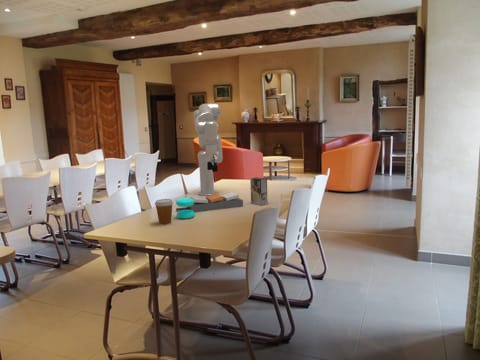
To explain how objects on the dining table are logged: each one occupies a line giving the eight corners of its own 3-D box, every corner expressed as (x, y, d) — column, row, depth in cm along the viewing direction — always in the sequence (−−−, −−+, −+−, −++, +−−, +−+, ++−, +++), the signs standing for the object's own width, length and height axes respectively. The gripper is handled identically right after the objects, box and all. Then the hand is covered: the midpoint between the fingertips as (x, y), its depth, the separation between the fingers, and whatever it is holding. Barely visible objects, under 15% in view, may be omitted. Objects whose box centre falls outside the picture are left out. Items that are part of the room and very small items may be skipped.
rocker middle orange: (206, 199, 248) (205, 196, 248) (218, 196, 251) (217, 193, 250) (211, 202, 238) (210, 199, 238) (223, 199, 241) (222, 196, 241)
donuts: (181, 197, 228) (197, 198, 225) (182, 214, 230) (197, 215, 226) (172, 200, 219) (188, 201, 216) (173, 218, 221) (189, 219, 217)
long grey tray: (174, 209, 243) (173, 202, 242) (235, 202, 257) (235, 195, 256) (178, 214, 231) (178, 206, 230) (243, 206, 245) (242, 198, 244)
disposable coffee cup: (158, 220, 217) (157, 199, 215) (175, 220, 217) (174, 198, 215) (154, 225, 208) (152, 202, 206) (172, 225, 208) (170, 202, 206)
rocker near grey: (190, 199, 244) (190, 196, 244) (202, 199, 247) (203, 197, 247) (194, 202, 235) (195, 199, 234) (207, 203, 238) (208, 200, 237)
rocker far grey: (221, 197, 252) (220, 195, 251) (232, 194, 254) (232, 191, 254) (226, 200, 242) (226, 198, 242) (238, 197, 245) (238, 194, 244)
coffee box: (268, 203, 251) (267, 178, 248) (261, 205, 246) (261, 179, 244) (257, 201, 257) (256, 177, 254) (250, 203, 252) (249, 178, 250)
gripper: (201, 142, 247) (202, 169, 250) (209, 143, 232) (210, 173, 234) (212, 141, 250) (214, 168, 253) (221, 143, 234) (222, 171, 237)
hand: (212, 170), depth 244 cm, fingers open, 9 cm apart
